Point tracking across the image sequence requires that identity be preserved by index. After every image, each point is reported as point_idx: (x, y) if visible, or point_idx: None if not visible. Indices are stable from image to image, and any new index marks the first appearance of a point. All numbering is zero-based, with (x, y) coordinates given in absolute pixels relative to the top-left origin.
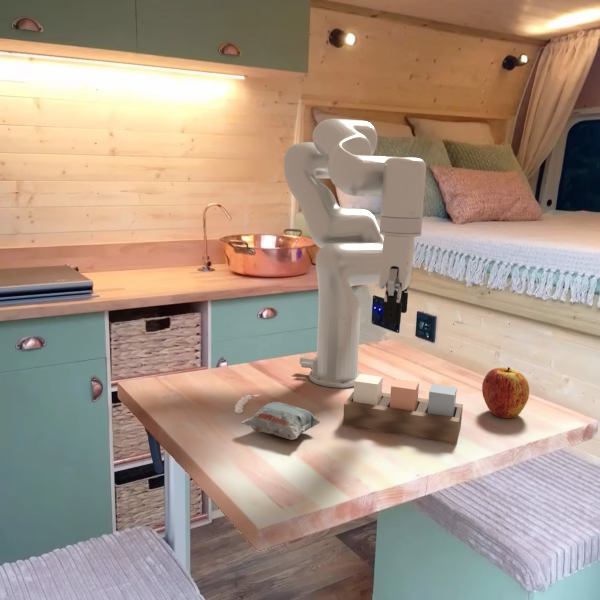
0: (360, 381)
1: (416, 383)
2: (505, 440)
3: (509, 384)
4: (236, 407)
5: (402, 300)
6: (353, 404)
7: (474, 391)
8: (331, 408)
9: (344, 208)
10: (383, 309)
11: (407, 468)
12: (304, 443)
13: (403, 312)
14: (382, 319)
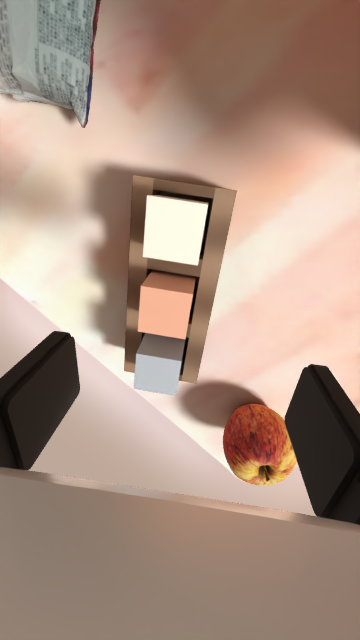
0: (148, 212)
1: (175, 334)
2: (168, 401)
3: (228, 459)
4: None
5: (309, 460)
6: (137, 197)
7: (349, 394)
8: (231, 134)
9: None
10: (12, 368)
11: (44, 290)
12: (46, 109)
13: (287, 412)
14: (49, 336)
